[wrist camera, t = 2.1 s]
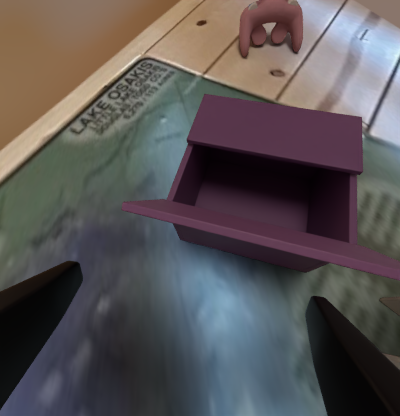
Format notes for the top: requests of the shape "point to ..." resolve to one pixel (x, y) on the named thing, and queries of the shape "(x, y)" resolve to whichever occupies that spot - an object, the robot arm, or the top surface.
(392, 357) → the brochure
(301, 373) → the top surface
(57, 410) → the top surface
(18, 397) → the top surface
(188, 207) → the flap
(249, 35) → the video game controller
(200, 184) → the file box
